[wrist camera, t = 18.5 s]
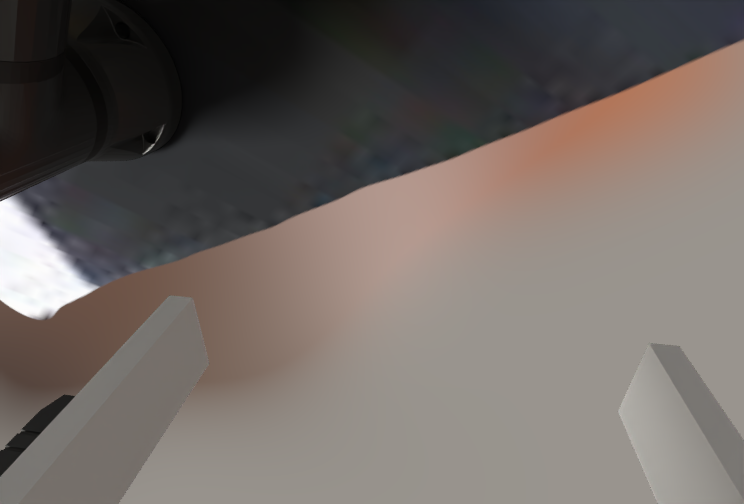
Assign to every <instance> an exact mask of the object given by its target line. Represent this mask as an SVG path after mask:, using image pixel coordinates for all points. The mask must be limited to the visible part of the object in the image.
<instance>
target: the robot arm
mask: <svg viewBox="0 0 744 504" xmlns="http://www.w3.org/2000/svg"><path fill="white" fill-rule="evenodd" d="M181 111H182V91H181V85H180V80H179V76H178V73H177V70H176V67H175V65H174V62H173V60H172V58H171V56H170V54H169V52H168V50H167V48H166V47H165V45H164V44H163V42H162V40H161V39H160V38H159V36H158V35H157V34H156V32H155V31H154V30H153V29H152V28H151V27H150V26H149V24H148V23H147V22H146V21H145V20H143V19H142V18H141V17H140V16H139V15H138V14H137V13H135V12H134V11H133V10H131V9H130V8H128V7H127V6H125V5H124V4H122V3H120V2H118V1H116V0H0V201H2V200H4V199H7V198H9V197H11V196H13V195H15V194H17V193H19V192H22V191H24V190H26V189H28V188H30V187H32V186H34V185H37V184H39V183H41V182H43V181H45V180H47V179H49V178H51V177H54V176H56V175H58V174H60V173H62V172H64V171H66V170H69V169H71V168H73V167H75V166H77V165H79V164H82V163H84V162H86V161H127V160H133V159H137V158H140V157H143V156H145V155H147V154H149V153H151V152H153V151H155V150H157V149H159V148H161V147H162V146H163V145H165V144H166V143H167V142H168V141H169V140H170V138H171V137H172V136H173V134H174V133H175V131H176V129H177V127H178V124H179V121H180V117H181ZM208 365H209V360H208V356H207V352H206V348H205V344H204V340H203V336H202V333H201V328H200V324H199V320H198V316H197V313H196V308H195V305H194V301H193V298H190V297H180V296H169V297H168V298H167V299H166V300H165V301H164V302H163V303H162V304H161V305H160V306H159V308H157V309H156V311H155V312H154V313H153V314H152V315H151V316H150V317H149V318H148V319H147V320H146V321H145V322H144V324H142V325H141V327H140V328H139V329H138V330H137V331H136V332H135V333H134V334H133V335H132V336H131V337H130V338H129V339H128V341H127V342H126V343H125V344H124V345H123V346H122V347H121V348H120V349H119V350H118V351H117V352H116V353H115V355H113V357H112V358H111V359H110V360H109V361H108V362H107V363H106V364H105V365H104V366H103V367H102V368H101V370H99V372H98V373H97V374H96V375H95V376H94V377H93V378H92V379H91V380H90V381H89V382H88V383H87V384H86V385H85V387H84V388H83V389H82V390H81V391H80V392H79V393H78V394H77V395H76V396H70V395H63V396H61V397H60V398H58V399H57V400H55V401H54V402H52V403H51V404H49V405H48V406H46V407H45V408H43V409H42V410H40V411H39V412H38V414H36V415H35V416H34V417H33V418H32V419H31V420H30V421H29V422H28V423H27V424H26V426H25V427H23V428H22V431H21V433H20V434H17V435H16V436H15V437H14V438H13V439H12V440H11V441H10V442H9V443H8V444H7V445H6V447H5V449H4V450H1V451H0V504H118V503H119V502H120V500H121V499H122V497H123V496H124V494H125V493H126V491H127V490H128V488H129V487H130V485H131V483H132V482H133V480H134V479H135V477H136V476H137V474H138V472H139V471H140V470H141V468H142V466H143V465H144V463H145V462H146V460H147V459H148V457H149V456H150V454H151V453H152V451H153V449H154V448H155V446H156V445H157V443H158V442H159V440H160V439H161V437H162V436H163V434H164V433H165V431H166V429H167V428H168V426H169V425H170V423H171V422H172V420H173V418H174V417H175V415H176V414H177V412H178V411H179V409H180V408H181V406H182V404H183V403H184V402H185V400H186V398H187V397H188V395H189V394H190V392H191V391H192V389H193V388H194V386H195V385H196V383H197V381H198V380H199V378H200V377H201V375H202V374H203V372H204V371H205V369H206V368H207V366H208ZM618 413H619V415H620V417H621V420H622V422H623V424H624V427H625V429H626V431H627V434H628V436H629V438H630V441H631V443H632V445H633V448H634V450H635V452H636V455H637V457H638V460H639V462H640V464H641V466H642V469H643V471H644V474H645V476H646V478H647V481H648V483H649V485H650V488H651V490H652V492H653V495H654V497H655V499H656V502H657V504H744V440H743V438H742V437H741V435H740V434H739V433H738V431H737V429H736V428H735V427H734V425H733V424H732V422H731V421H730V419H729V418H728V416H727V415H726V413H725V412H724V411H723V409H722V408H721V406H720V405H719V403H718V402H717V400H716V399H715V398H714V396H713V394H712V393H711V392H710V391H709V389H708V387H707V386H706V384H705V383H704V382H703V380H702V378H701V377H700V376H699V374H698V373H697V371H696V370H695V368H694V367H693V365H692V364H691V362H690V361H689V360H688V358H687V357H686V355H685V354H684V352H683V351H682V349H681V348H680V346H673V345H663V344H653V343H649V344H648V346H647V348H646V351H645V353H644V355H643V357H642V359H641V362H640V364H639V366H638V369H637V371H636V373H635V375H634V377H633V380H632V382H631V384H630V386H629V388H628V391H627V393H626V395H625V397H624V399H623V402H622V404H621V406H620V408H619V410H618Z"/></svg>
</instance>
